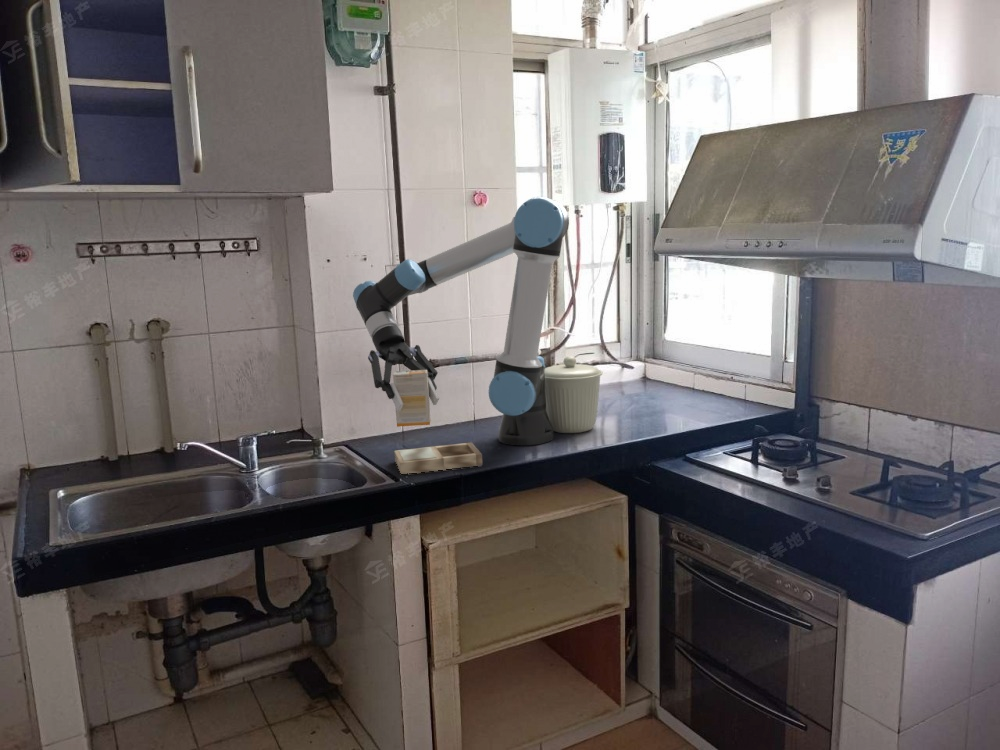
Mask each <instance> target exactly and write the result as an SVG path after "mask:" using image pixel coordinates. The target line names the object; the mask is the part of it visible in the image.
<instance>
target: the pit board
mask: <svg viewBox="0 0 1000 750" xmlns="http://www.w3.org/2000/svg"><path fill="white" fill-rule="evenodd" d="M394 462H396V463H395V465H396V464H397V465H396V467H397V466H398V467H397V469H399V470H398V472H399V471H400V472H399V474H400V473H401V474H407V473H408V475H410V474H409V473H417V474H422V473H421V472H425V473H430V472H429V471H434V472H439V471H438V470H443V471H447V470H446V469H452V468H460V467H469V466H478V465H483V453H481V451H480V450H479V449H478V448H477V447H476V446H475V445H474V443H473V442H463V443H455V444H453V443H452V444H446V445H435V446H434V445H433V446H425V447H418V448H407V449H398V450H394ZM478 467H479V466H478ZM452 470H453V469H452ZM401 474H400V475H401Z"/></svg>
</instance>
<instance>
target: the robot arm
mask: <svg viewBox="0 0 1000 750" xmlns="http://www.w3.org/2000/svg"><path fill="white" fill-rule="evenodd" d="M518 207H519V208H518V209H517V210H516V213H515V215H514V216H513V217H512V220H511V221H510V222H509V223H506V224H504V225H502V226H499V227H497V228H495V229H492V230H491V231H489V232H486V233H484V234H482V235H479V236H476V237H475V238H471V239H470V240H468V241H466V242H464V243H460V244H459V245H456V246H454V247H452V248H449V249H447V250H445V251H442V252H440V253H438V254H435V255H433V256H431V257H429V258H426V259H424V260H422V261H419V262H416V261H414V260H412V259H410V258H407V259H405V260H404V261H402V262H401V263H399V264H397V265H396V266H395V268H393V269H392V270H391V271H390V272H388V274H386V275H385V276H384V277H382V278H381V279H380V280H379V281H377V282H376V281H374V280H366V281H365V282H363V283H359V284H357V286H356V287H354V289H353V292H352V293H353V294H352V299H353V300H354V303H355V307H356V309H357V311H358V313H359V315H360V316H361V319H362V321H363V323H364V325H365V327H366V329H367V331H368V334H369V336H370V338H371V340H372V343H373V345H374V347H375V349H376V351H375V350H370V352H369V354H368V356H367V359H368V361H369V363H370V364H371V365H370V366H371V372H372V377H373V384H374V387H375V388H376V389H380V388H381V391H382V392H385V394H386V397H387V398H388V399H389V400H392V403H393V405H394V407H396V408H395V410H396V409H397V411H401V409H402V406H403V402H402V400H401V398H400V396H399V393H398V391H397V389H396V387H395V385H394V382H391V378H392V377H391V375H392V369H393V366H396V365H403V366H404V367H406V368H408V369H409V370H410V371H412V370H427V372H428V387H429V400H430V401H431V404H432V405H433V406H436V405H437V404H438V403H439V400H440V397H439V396H440V395H439V394H438V393H437V390H438V389H437V385H436V383H435V379H436V377H437V376H438V373H439V372H438V371H437V370H436V368H435V367H434V365H433V364H432V363H431V362H430V361H429V359H428V358H427V357H426V355H425V354H424V353H423V352H422V348H421V347H420V345H419V344H416V345H414V347H413V346H412V347H410V346H409V345H407V343H406V340H405V337H404V335H403V333H402V331H401V329H400V327H399V325H398V323H397V320H396V319H395V317H394V314H393V312H392V309H393V308H394V307H396V306H397V305H398V304H399V303H400V302H402V301H403V300H405V298H408V296H413V295H415V294H421V293H425V292H427V291H428V290H429V289H431V288H434V287H437V286H439V285H441V284H443V283H445V282H447V281H450V280H453V279H455V278H457V277H459V276H462V275H465V274H467V273H469V272H472V271H474V270H477V269H478V268H481V267H483V266H484V267H485V266H486V265H489V264H490V263H493V262H496V261H497V260H500V259H503V258H505V257H507V256H509V255H512V254H515V255H516V256H517V261H516V267H515V268H516V269H515V274H514V282H513V286H512V287H513V288H512V294H511V295H512V296H511V302H510V309H509V315H508V321H507V327H506V334H505V341H504V347H503V352H502V353H500V354H499V355H498V356H496V358H495V359H496V360H495V366H494V373H493V377H492V380H490V384H489V386H488V400H489V401H490V403H491V406H493V407H494V408H495V409H496V411H498V412H499V413H501V414H502V417H501V421H500V425H499V428H498V433H497V436H498V441H499V442H500V443H502V444H505V445H511V446H512V445H513V446H537V445H541V444H546V443H548V442H550V441H552V440H554V430H553V428H552V425H551V422H550V420H549V417H548V414H547V411H546V392H545V368H546V365H545V359H544V357H543V356H540V355H538V354H539V347H540V341H541V335H542V330H543V324H544V323H543V322H544V316H545V310H546V306H547V298H548V292H549V287H550V279H551V273H552V268H553V263H555V261H557V260H559V259H560V257H561V252H562V251H561V250H562V245H563V238H564V237H565V235H566V234H567V232H568V231H569V225H570V217H569V214H568V211H567V210H566V208H565V207H564V206H563V204H562V203H560V202H558V201H557V200H555V199H552V198H549V197H545V196H544V197H543V196H535V197H532V198H530V199H527V200H525V201H524V202H523V203H522V204H521V205H520V206H518ZM379 358H380V359H381V360H383V361H385V362H384V373H383V377H382V371H381V365H380V359H379Z"/></svg>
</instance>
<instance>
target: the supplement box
mask: <svg viewBox="0 0 1000 750" xmlns="http://www.w3.org/2000/svg"><path fill="white" fill-rule="evenodd" d="M392 376H393V378H392V379H393V383H394V385H395V387H396V389H397V391H398V393H399V396H400V398H401V400H402V402H403V406H402V409H401V411H397V409H396V407H395V406H394V407H395V418H396V419H395V420H396V421H395V422H396V427H411V426H430V425H431V421H432V420H431V407H430V405H431V403H430V397H429V387H428V372H427V370H395V371H394V372H393V375H392Z"/></svg>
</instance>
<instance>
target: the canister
mask: <svg viewBox="0 0 1000 750" xmlns="http://www.w3.org/2000/svg"><path fill="white" fill-rule="evenodd" d="M602 375H603V371H602V370H601V369H599V368H598V367H596V366H593V365H590V364H589V365H588V364H580V363H579V364H578V363H577V359H576V357H574V356H571V355H569V356H566V357H564V359H563V364H557V365H552V366H547V367H545V392H546V411H547V414H548V417H549V420H550V422H551V425H552V428H553V432H557V433H561V434H579V433H585V432H588V431H591V430H592V429H593V428H594V426H595V425H596V422H597V417H598V408H599V407H598V406H599V395H600V394H599V393H600V383H601V376H602Z"/></svg>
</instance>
